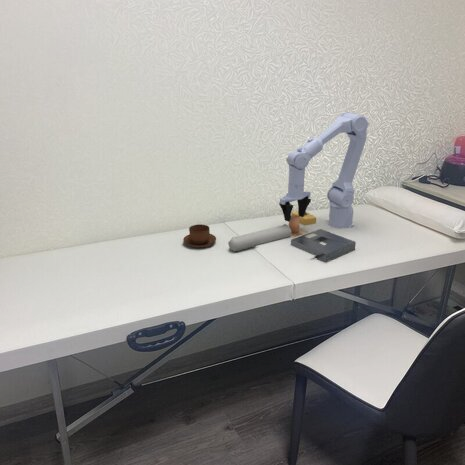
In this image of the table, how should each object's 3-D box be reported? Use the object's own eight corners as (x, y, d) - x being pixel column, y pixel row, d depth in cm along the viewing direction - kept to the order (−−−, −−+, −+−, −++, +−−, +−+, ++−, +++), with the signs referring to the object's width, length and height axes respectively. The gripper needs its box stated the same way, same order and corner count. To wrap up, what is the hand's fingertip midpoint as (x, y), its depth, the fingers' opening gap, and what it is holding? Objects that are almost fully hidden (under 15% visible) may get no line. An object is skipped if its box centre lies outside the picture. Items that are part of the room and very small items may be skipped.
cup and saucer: (177, 246, 158) (176, 230, 155) (194, 235, 168) (194, 220, 165) (205, 252, 152) (204, 236, 150) (222, 240, 162) (221, 225, 160)
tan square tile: (293, 228, 173) (293, 226, 172) (308, 234, 167) (308, 232, 167) (278, 233, 168) (279, 231, 168) (294, 239, 162) (294, 237, 162)
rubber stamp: (290, 220, 182) (292, 192, 177) (302, 218, 184) (303, 190, 180) (304, 228, 174) (306, 199, 169) (316, 225, 176) (318, 197, 171)
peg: (293, 228, 170) (294, 214, 167) (301, 231, 167) (302, 217, 165) (286, 231, 167) (287, 216, 165) (294, 234, 165) (294, 219, 162)
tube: (232, 256, 152) (289, 240, 163) (234, 244, 148) (292, 229, 160) (225, 246, 155) (281, 232, 167) (227, 235, 152) (284, 221, 163)
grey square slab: (319, 236, 165) (320, 228, 164) (354, 249, 154) (355, 241, 153) (290, 247, 156) (290, 239, 155) (325, 262, 144) (326, 253, 143)
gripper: (301, 178, 167) (299, 211, 172) (274, 185, 159) (273, 219, 164) (315, 182, 162) (313, 216, 167) (288, 189, 154) (286, 225, 159)
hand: (294, 218), depth 165 cm, fingers open, 7 cm apart
